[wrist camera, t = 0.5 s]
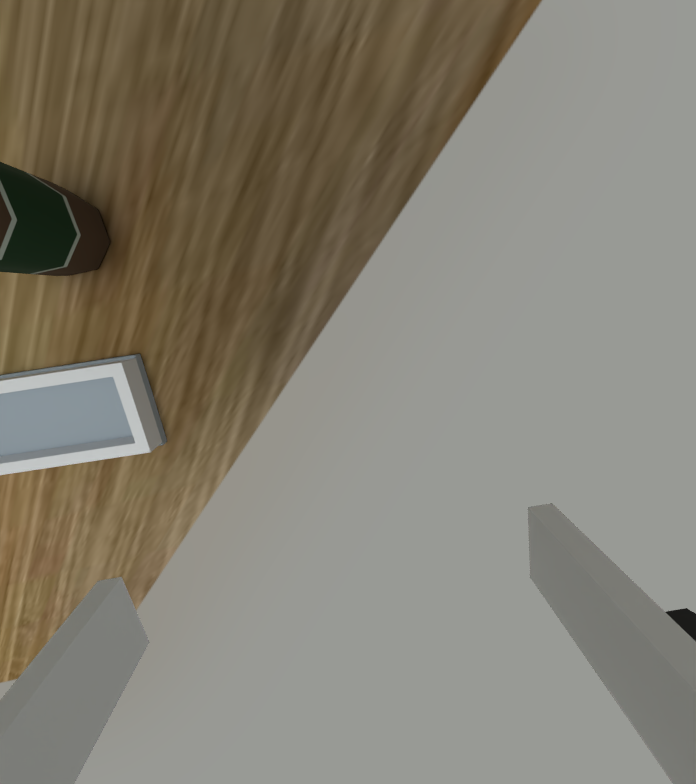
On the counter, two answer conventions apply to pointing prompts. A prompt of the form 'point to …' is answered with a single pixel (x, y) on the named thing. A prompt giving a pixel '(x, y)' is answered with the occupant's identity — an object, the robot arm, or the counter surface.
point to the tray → (77, 414)
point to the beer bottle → (46, 227)
